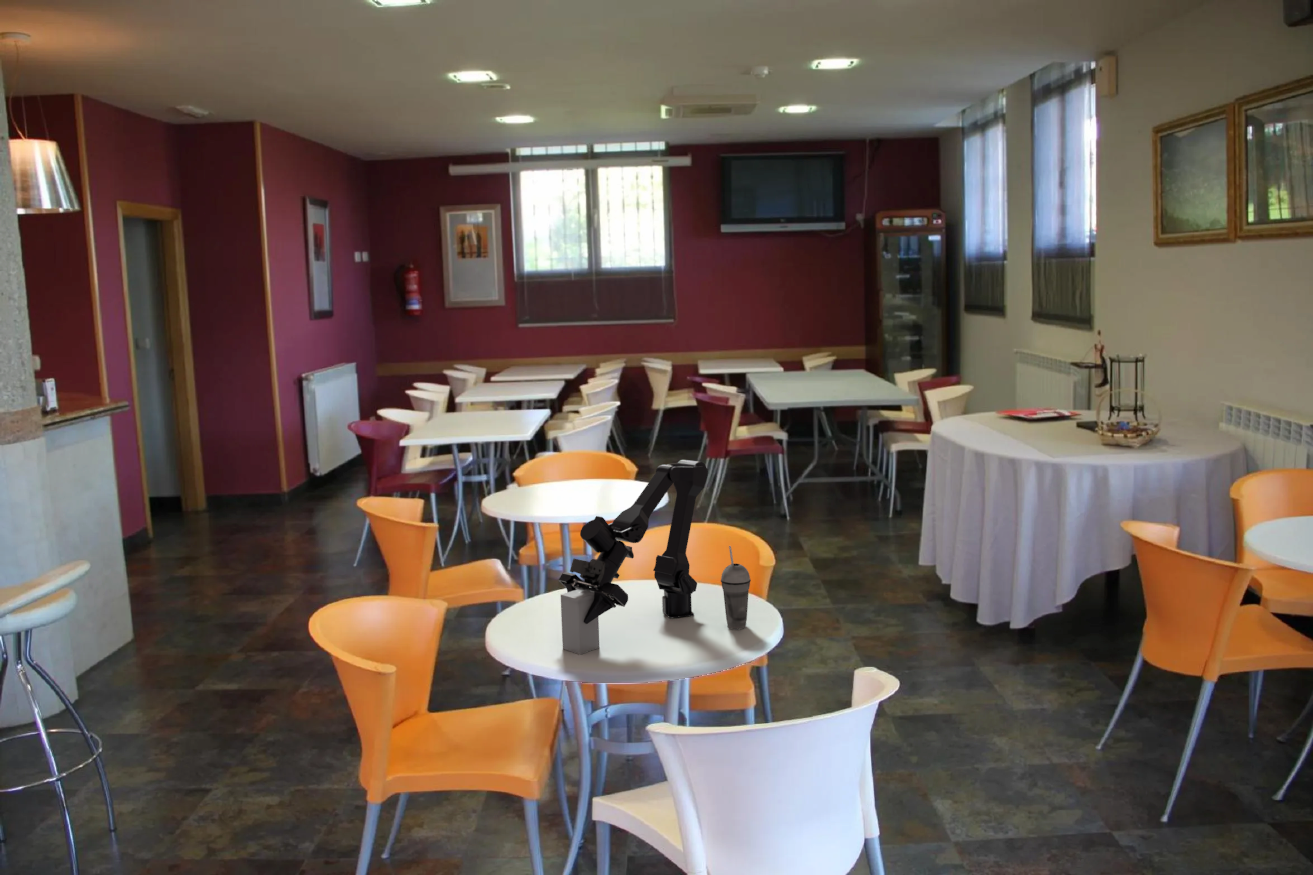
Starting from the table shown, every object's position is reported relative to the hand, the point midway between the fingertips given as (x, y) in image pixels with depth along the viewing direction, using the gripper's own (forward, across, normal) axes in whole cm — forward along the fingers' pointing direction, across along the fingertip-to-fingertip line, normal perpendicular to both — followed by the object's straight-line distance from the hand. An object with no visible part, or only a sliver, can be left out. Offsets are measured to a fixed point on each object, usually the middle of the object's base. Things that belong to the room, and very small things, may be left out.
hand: (575, 620), depth 248 cm
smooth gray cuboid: (+4, 0, +6) cm, 7 cm away
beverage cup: (-20, +18, +31) cm, 41 cm away
